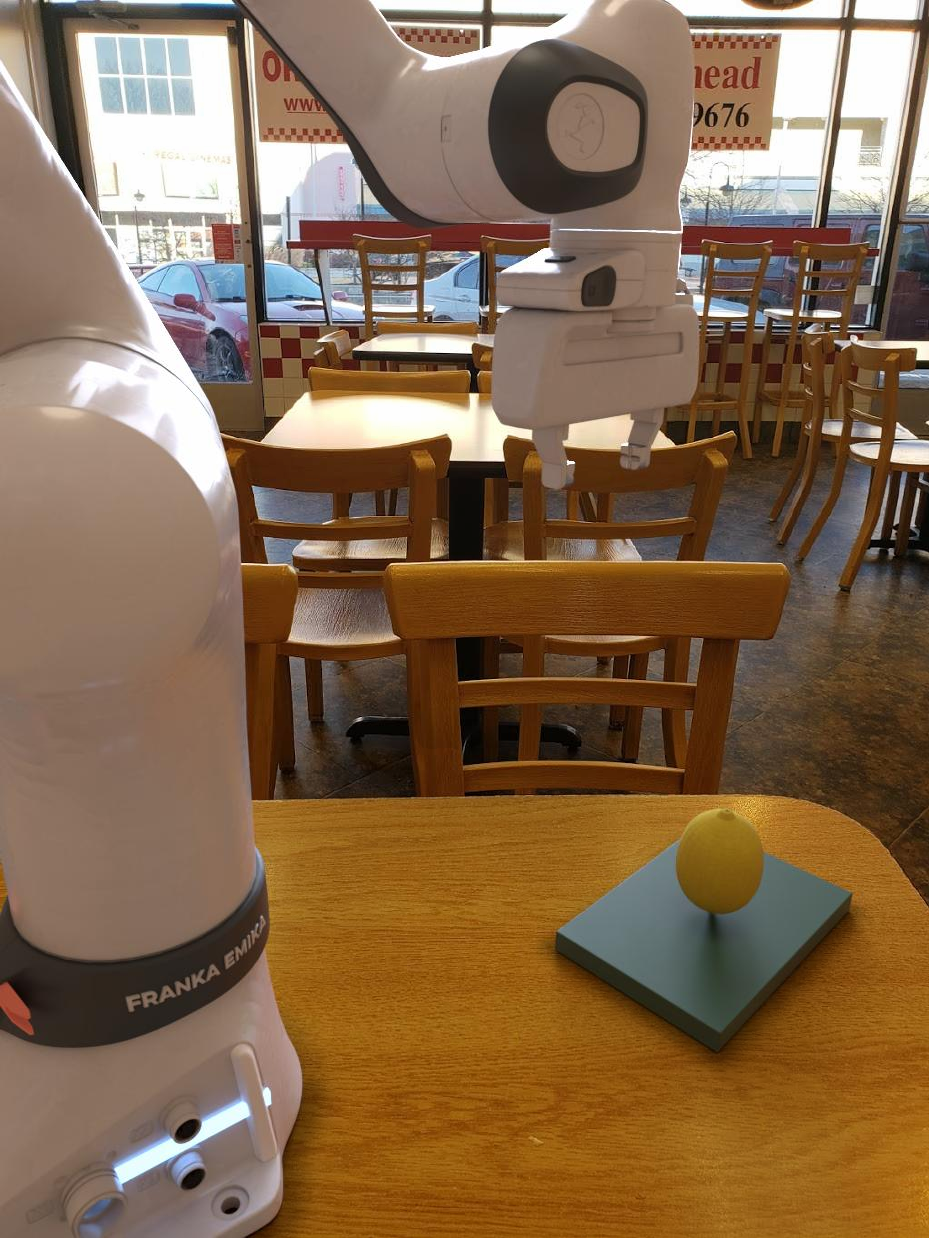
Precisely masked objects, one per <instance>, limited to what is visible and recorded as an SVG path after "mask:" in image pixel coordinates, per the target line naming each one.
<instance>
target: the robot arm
mask: <svg viewBox="0 0 929 1238" xmlns="http://www.w3.org/2000/svg"><path fill="white" fill-rule="evenodd" d="M231 2H232V3H233V4H234V5H235V7H237V9H238V10H239V11H240V12H241V14H242V15H243V16H244V17H245V18H246V19H247V21H248V22H249V23H250V24H251V25H252V26H253V28H254V29H255V30H256V31H257V32H258V34H259V35H260V36H261V37H262V38H263V39H264V41H265V42H266V43H267V44H268V45H269V47H270V48H271V49H272V50H273V51H274V53H275V54H276V55H278V57H279V58H280V59H281V61H282V62H283V63H284V64H285V65H286V67H287V68H288V69H289V70H290V71H291V72H292V74H293V75H294V76H295V77H296V78H297V80H299V82H300V83H301V84H302V85H303V86H304V87H305V89H306V90H307V91H308V92H309V93H310V94H311V96H312V97H313V99H314V100H315V101H316V102H317V103H318V104H319V105H320V107H321V108H322V109H323V110H324V111H325V112H326V114H327V115H328V116H329V117H330V119H331V120H332V122H333V123H334V124H335V126H336V128H337V129H338V131H339V132H340V133H341V135H342V137H343V139H344V141H345V142H346V144H347V147H348V148H349V150H350V152H351V155H352V156H353V158H354V161H355V163H356V165H357V167H358V170H359V173H361V176H362V178H363V180H364V182H365V184H366V186H367V187H368V189H369V191H370V192H371V194H372V195H373V197H374V198H375V200H376V202H378V204H379V205H380V206H381V208H383V209H384V210H385V211H386V212H387V213H388V214H389V215H390V216H392V217H393V218H395V219H396V220H397V221H399V222H401V223H402V224H405V225H407V226H410V227H412V228H416V229H421V230H435V229H440V228H447V227H452V226H459V225H464V224H472V223H473V224H480V223H483V224H484V223H485V224H487V223H488V224H489V223H511V222H528V221H529V222H530V221H531V222H532V221H544V220H545V221H546V220H550V219H551V221H550V227H549V244H548V248H543V249H541V250H540V251H538V252H537V253H534V254H533V255H531V256H530V257H528V258H526V259H523V260H522V261H520V262H518V263H516V264H514V265H511V266H509V267H508V268H506V269H504V270H502V271H501V272H499V274H498V276H497V278H496V284H495V286H496V287H495V296H496V301H497V303H498V304H499V305H500V306H503V307H509V308H507V309H506V310H505V311H504V312H503V313H501V315H500V317H499V318H498V321H497V323H496V326H495V330H494V337H493V346H492V362H491V382H490V386H491V388H490V390H491V391H490V392H491V395H490V396H491V397H490V398H491V406H492V410H493V412H494V415H495V416H496V418H497V420H498V421H499V423H500V424H501V425H504V426H508V427H512V428H517V429H523V430H530V431H531V440H532V442H533V444H534V447H535V450H536V452H537V455H538V457H539V459H540V461H541V462H542V464H541V483H542V485H543V486H544V487H545V488H548V489H553V490H561V489H564V488H568V487H571V486H573V484H574V482H575V477H574V474H575V471H576V470H575V469H576V462H574V461H569V460H568V457H567V454H566V450H565V446H564V442H565V441H568V440H569V433H570V425H574V424H580V423H586V422H592V421H597V420H604V419H609V418H615V417H620V416H626V415H629V416H630V417H629V419H630V420H631V421H633V423H632V425H631V426H632V427H631V429H630V432H629V435H628V438H627V441H626V443H623V444H621V445H620V457H619V464H620V467H621V468H623V469H625V470H631V471H637V470H642V469H646V468H648V467H649V466H650V461H651V452H652V451H651V450H652V446H653V444H654V442H655V440H656V438H657V436H658V434H659V431H660V429H661V427H662V426H663V423H664V416H665V409H666V408H671V407H678V406H683V405H687V404H689V403H691V401H692V399H693V397H694V395H695V393H696V391H697V387H698V382H699V381H698V379H699V363H700V320H699V316H698V315H699V314H698V313H697V310H696V309H695V307H694V295H693V294H692V293H691V292H690V289H689V287H688V286H687V283H686V281H685V279H682V278H679V277H678V276H679V271H680V269H679V268H680V260H681V250H682V238H683V219H682V214H681V208H680V206H681V205H680V197H681V196H680V195H681V189H682V183H683V181H684V176H685V174H686V171H687V169H688V166H689V162H690V157H691V156H690V155H691V147H692V135H693V125H694V109H695V58H694V57H695V56H694V47H693V39H692V34H691V29H690V24H689V21H688V19H687V17H686V16H685V14H684V13H683V12H682V11H681V10H680V9H678V8H677V7H676V6H674V5H673V4H672V3H670V2H669V1H668V0H578V2H577V3H576V4H575V6H574V7H573V9H572V11H571V12H569V13H568V14H567V15H565V16H564V17H563V18H561V19H560V20H558V21H557V22H555V23H553V24H551V25H550V26H548V27H545V28H543V29H541V30H538V31H536V32H534V33H532V34H528V35H525V36H523V37H520V38H517V39H515V40H512V41H509V42H504V43H499V44H496V45H492V46H491V45H490V46H488V47H485V48H483V49H480V50H475V51H471V52H467V53H463V54H459V55H455V56H450V57H443V56H435V55H432V54H428V53H425V52H422V51H420V50H418V49H415V48H414V47H411V46H410V45H408V44H407V43H405V42H404V41H402V39H401V38H400V37H399V36H398V35H397V33H396V32H395V31H394V29H393V28H392V27H391V25H390V23H389V22H388V21H387V19H386V18H385V17H384V16H383V14H382V13H381V11H380V10H379V8H377V5H376V4H375V3H374V1H373V0H231ZM105 229H106V228H104V226H103V225H102V223H101V221H100V220H99V218H98V217H97V214H96V213H95V212H94V210H93V209H92V207H91V205H90V204H89V202H88V200H87V198H86V197H85V196H84V194H83V192H82V191H81V189H80V188H79V186H78V184H77V183H76V181H75V180H74V178H73V176H72V174H71V173H70V171H69V170H68V168H67V167H66V165H65V163H64V162H63V160H62V159H61V156H60V155H59V154H58V152H57V150H56V149H55V148H54V146H53V145H52V143H51V141H50V140H49V138H48V136H47V135H46V133H45V132H44V130H43V127H41V124H40V123H39V121H38V120H37V118H36V116H35V115H34V113H33V111H32V110H31V108H30V106H29V105H28V104H27V102H26V100H25V98H24V96H23V95H22V93H21V91H20V90H19V88H18V87H17V85H16V83H15V81H14V80H13V78H12V76H11V74H10V73H9V71H8V69H7V68H6V66H5V64H4V63H3V61H2V59H1V58H0V863H1V868H2V869H1V870H2V873H3V878H4V884H5V888H6V894H7V895H6V897H5V899H4V902H3V906H2V908H1V910H0V1238H246V1237H247V1236H249V1235H250V1234H253V1233H255V1232H256V1231H258V1230H260V1229H261V1228H263V1227H265V1226H266V1225H267V1224H269V1223H270V1222H271V1221H272V1220H274V1218H275V1217H276V1216H277V1214H278V1213H279V1211H280V1209H281V1206H282V1203H283V1197H284V1168H283V1156H284V1152H285V1148H286V1145H287V1142H288V1140H289V1137H290V1135H291V1133H292V1130H293V1129H294V1126H295V1123H296V1121H297V1118H298V1114H299V1112H300V1106H301V1102H302V1096H303V1072H302V1071H303V1070H302V1066H301V1061H300V1059H299V1055H298V1053H297V1051H296V1048H295V1047H294V1044H293V1043H292V1041H291V1039H290V1037H289V1035H288V1033H287V1030H286V1028H285V1025H284V1022H283V1019H282V1017H281V1014H280V1010H279V1007H278V1004H277V1000H276V996H275V991H274V988H273V983H272V979H271V975H270V970H269V964H268V958H267V952H266V951H267V950H266V945H267V943H268V939H269V935H270V931H271V930H270V928H271V920H270V904H269V893H268V883H267V876H266V866H265V861H264V858H263V856H262V853H261V851H260V850H259V848H258V847H257V846H256V844H255V828H254V813H253V799H252V783H251V770H250V769H251V767H250V755H249V741H248V725H247V724H248V723H247V721H248V720H247V683H246V682H247V679H246V653H245V652H246V649H245V647H246V646H245V645H246V644H245V621H244V620H245V619H244V598H243V597H244V596H243V577H242V556H241V554H242V553H241V536H240V535H241V533H240V518H239V517H240V515H239V514H240V513H239V505H238V498H237V491H236V488H235V484H234V481H233V477H232V473H231V469H230V465H229V461H228V458H227V454H226V450H225V446H224V443H223V441H222V435H221V432H220V428H219V424H218V421H217V417H216V414H215V412H214V410H213V407H212V405H211V403H210V401H209V398H208V397H207V395H206V393H205V392H204V390H203V388H202V387H201V385H200V383H199V382H198V380H197V378H196V377H195V375H194V374H193V372H192V370H191V368H190V367H189V365H188V363H187V361H186V360H185V359H184V357H183V355H182V353H181V351H180V350H179V348H178V347H177V345H176V343H175V342H174V340H173V339H172V337H171V335H170V334H169V332H168V330H167V329H166V327H165V326H164V324H163V322H162V321H161V319H160V317H159V316H158V313H157V312H156V311H155V309H154V308H153V306H152V304H151V302H150V301H149V300H148V298H147V296H146V294H145V292H144V291H143V289H142V288H141V286H140V284H139V283H138V281H137V279H136V278H135V277H134V275H133V273H132V272H131V270H130V268H129V266H128V265H127V264H126V262H125V259H123V256H122V255H121V254H120V252H119V250H118V249H117V247H116V245H115V244H114V242H113V241H112V239H111V237H110V235H109V234H108V233H107V231H106V230H105ZM234 1208H235V1209H237V1210H236V1211H234V1212H233V1213H225V1212H226V1211H228V1210H229V1209H234Z"/></svg>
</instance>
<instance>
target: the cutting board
mask: <svg viewBox="0 0 929 1238" xmlns="http://www.w3.org/2000/svg"><path fill="white" fill-rule="evenodd" d="M679 841H680V838H679V839H678V840H677V841H676V842H674V843H673V844H671V845H670V846H668V847H667V848H666V849H665V850H663V851H662V852H660V853H659V854H658V855H656V856H655V857H654V858H652V859H651V860H650V861H648V862H647V863H646V864H644V865H643V866H642V867H640V868H639V869H638V870H636V871H635V872H634V873H633V874H631V875H629V876H628V877H627V878H626V879H624V880H623V881H622V882H620V883H619V884H618V885H616V886H615V887H614V888H612V889H611V890H610V891H608V892H606V893H605V894H604V895H603V896H602V897H600V898H599V899H598V900H596V901H595V902H593V903H592V904H591V905H589V906H588V907H587V908H585V909H584V910H583V911H582V912H580V913H579V914H578V915H576V916H574V917H573V918H572V919H571V920H570V921H568V922H567V923H565V924H564V925H563V926H561V927H560V928H559V929H557V930H556V931H555V943H554V950H555V951H557V952H558V953H560V954H561V955H562V956H564V957H566V958H568V959H569V960H571V961H572V962H574V963H575V964H577V965H579V966H580V967H582V968H584V969H585V970H587V971H588V972H590V973H591V974H593V975H594V976H596V977H597V978H599V979H601V980H602V981H603V982H605V983H607V984H609V985H610V986H612V987H613V988H615V989H616V990H618V991H619V992H621V993H622V994H624V995H626V996H627V997H629V998H631V999H632V1000H633V1001H635V1002H637V1003H638V1004H639V1005H641V1006H643V1007H645V1008H646V1009H648V1010H649V1011H651V1012H653V1013H654V1014H655V1015H657V1016H659V1017H660V1018H661V1019H664V1020H665V1021H667V1022H668V1023H670V1024H671V1025H673V1026H675V1027H676V1028H677V1029H679V1030H680V1031H682V1032H684V1033H686V1034H687V1035H689V1036H690V1037H692V1038H693V1039H695V1040H696V1041H698V1042H700V1043H701V1044H702V1045H704V1046H706V1047H708V1048H709V1049H711V1050H712V1051H714V1052H715V1053H719V1052H720V1051H721V1050H722V1049H723V1047H725V1045H726V1044H727V1043H728V1042H729V1041H730V1040H731V1039H732V1038H733V1037H734V1036H735V1034H736V1033H738V1031H739V1030H740V1029H741V1028H742V1027H743V1026H744V1025H745V1024H746V1023H747V1021H748V1020H749V1019H750V1018H751V1017H753V1015H754V1014H755V1013H756V1012H757V1011H758V1010H759V1008H761V1006H762V1005H763V1004H764V1003H765V1002H766V1001H767V1000H768V999H769V998H770V997H771V995H772V994H773V993H774V992H776V990H777V989H778V988H779V987H780V986H781V985H782V984H783V982H784V981H785V980H786V979H788V977H789V976H790V975H791V974H792V973H793V972H794V971H795V969H797V968H798V966H799V965H800V964H801V963H803V961H804V960H805V959H806V958H807V957H808V955H809V954H810V953H811V952H812V951H813V950H814V949H815V948H816V947H817V946H818V945H819V944H820V943H821V942H822V940H823V939H824V938H825V937H826V936H827V935H828V934H829V933H830V932H831V930H832V929H833V928H835V926H836V925H838V923H839V922H840V921H841V920H842V919H843V917H844V916H845V915H846V914H847V913H848V912H849V911H850V908H851V903H852V898H853V892H851V891H849V890H847V889H845V888H843V887H840V886H838V885H836V884H834V883H832V882H830V881H828V880H825V879H823V878H821V877H819V876H817V875H815V874H813V873H811V872H808V871H806V870H804V869H802V868H799V867H797V866H795V865H794V864H791V863H789V862H786V860H785V861H784V860H782V859H781V858H778V857H776V856H775V855H772V854H769V853H767V852H765V851H763V855H764V867H763V874H762V879H761V883H760V886H759V888H758V890H757V892H756V894H755V895H754V897H753V898H752V899H751V901H750V902H749V903H748V904H747V905H746V906H744V907H742V908H741V909H739V910H738V911H735V912H732V913H728V914H710V913H709V912H707V911H704V910H702V909H700V908H698V907H697V906H695V905H694V904H693V903H692V902H691V901H690V900H689V899H688V898H687V897H686V895H685V894H684V892H683V891H682V889H681V887H680V884H679V881H678V878H677V874H676V855H677V848H678V844H679Z"/></svg>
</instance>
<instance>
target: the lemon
mask: <svg viewBox="0 0 929 1238" xmlns="http://www.w3.org/2000/svg"><path fill="white" fill-rule="evenodd" d="M679 839H680V841H679V844H678V848H677V855H676V874H677V878H678V881H679V884H680V887H681V889H682V891H683V892H684V894H685V895H686V897H687V898H688V899H689V900H690V901H691V902H692V903H693V904H694V905H695V906H697V907H698V908H700V909H702V910H704V911H707V912H709V913H710V914H728V913H732V912H735V911H738V910H739V909H741V908H742V907H744V906H746V905H747V904H748V903H749V902H750V901H751V899H752V898H753V897H754V895H755V894H756V892H757V890H758V888H759V886H760V883H761V879H762V874H763V867H764V855H763V852H764V849H763V845H762V841H761V837H760V834H759V833H758V830H757V829H756V828H755V827H754V825H753V824H752V822H751V821H749V820H748V819H747V818H746V817H745V816H743V815H742V814H740V813H739V812H736V811H734V810H731V809H730V808H725V807H723V808H713V809H708V810H705V811H702V812H701V813H699V814H698V815H696V816H694V817H693V818H692V819H691V820H690V821H689V822H688V824H687V825H686V827H685V828H684V830H683V832H682V834H681V836H680V838H679Z"/></svg>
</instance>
